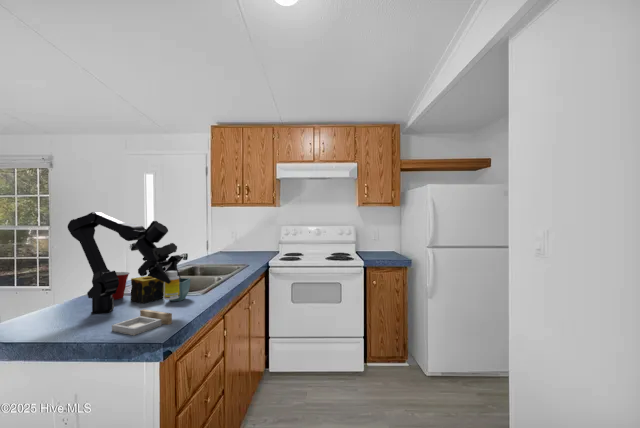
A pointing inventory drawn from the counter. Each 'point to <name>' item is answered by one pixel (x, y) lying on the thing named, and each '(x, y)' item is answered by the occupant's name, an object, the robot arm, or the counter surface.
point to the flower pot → (183, 289)
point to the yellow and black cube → (146, 289)
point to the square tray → (136, 325)
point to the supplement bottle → (172, 286)
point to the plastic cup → (120, 285)
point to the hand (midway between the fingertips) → (174, 281)
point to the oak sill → (157, 316)
